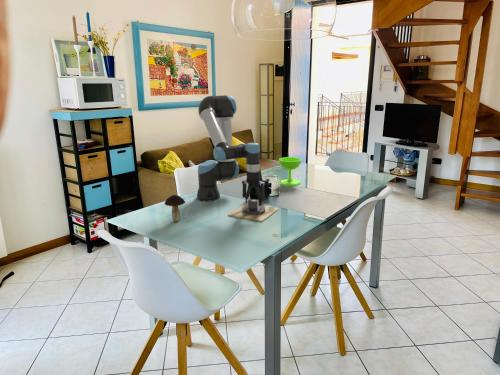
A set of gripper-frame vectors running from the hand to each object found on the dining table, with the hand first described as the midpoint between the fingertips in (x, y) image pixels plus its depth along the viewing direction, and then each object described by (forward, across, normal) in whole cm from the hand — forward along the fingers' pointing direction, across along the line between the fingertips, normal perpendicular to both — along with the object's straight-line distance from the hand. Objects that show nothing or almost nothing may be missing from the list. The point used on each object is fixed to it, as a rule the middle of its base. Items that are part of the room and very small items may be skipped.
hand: (253, 209), depth 206 cm
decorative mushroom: (+2, -32, -30) cm, 44 cm away
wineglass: (+2, -5, +67) cm, 67 cm away
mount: (+2, 0, 0) cm, 2 cm away
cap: (0, 0, 0) cm, 1 cm away
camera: (+2, -8, +25) cm, 26 cm away
